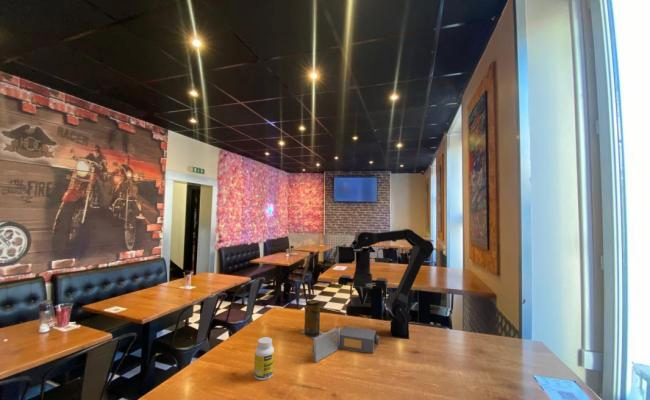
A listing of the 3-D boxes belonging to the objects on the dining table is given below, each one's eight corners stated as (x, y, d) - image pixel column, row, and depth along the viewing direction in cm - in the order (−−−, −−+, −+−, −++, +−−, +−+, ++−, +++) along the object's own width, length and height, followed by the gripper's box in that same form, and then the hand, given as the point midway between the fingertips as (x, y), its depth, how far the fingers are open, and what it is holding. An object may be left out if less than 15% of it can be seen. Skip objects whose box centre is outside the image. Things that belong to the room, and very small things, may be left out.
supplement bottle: (263, 383, 73) (264, 346, 73) (250, 376, 75) (251, 341, 76) (277, 373, 77) (278, 338, 78) (263, 367, 80) (264, 334, 81)
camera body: (379, 343, 97) (379, 323, 97) (376, 355, 88) (376, 333, 88) (342, 338, 101) (342, 318, 101) (336, 349, 92) (336, 327, 92)
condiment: (313, 327, 110) (314, 298, 111) (327, 334, 104) (327, 303, 105) (299, 332, 106) (299, 301, 107) (312, 339, 99) (312, 306, 100)
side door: (315, 362, 83) (316, 339, 84) (312, 360, 84) (312, 337, 85) (337, 349, 91) (337, 328, 92) (333, 348, 92) (334, 327, 93)
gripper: (334, 265, 100) (334, 307, 99) (385, 268, 95) (385, 313, 93) (341, 261, 111) (341, 299, 110) (387, 263, 105) (387, 304, 104)
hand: (362, 304), depth 104 cm, fingers closed
